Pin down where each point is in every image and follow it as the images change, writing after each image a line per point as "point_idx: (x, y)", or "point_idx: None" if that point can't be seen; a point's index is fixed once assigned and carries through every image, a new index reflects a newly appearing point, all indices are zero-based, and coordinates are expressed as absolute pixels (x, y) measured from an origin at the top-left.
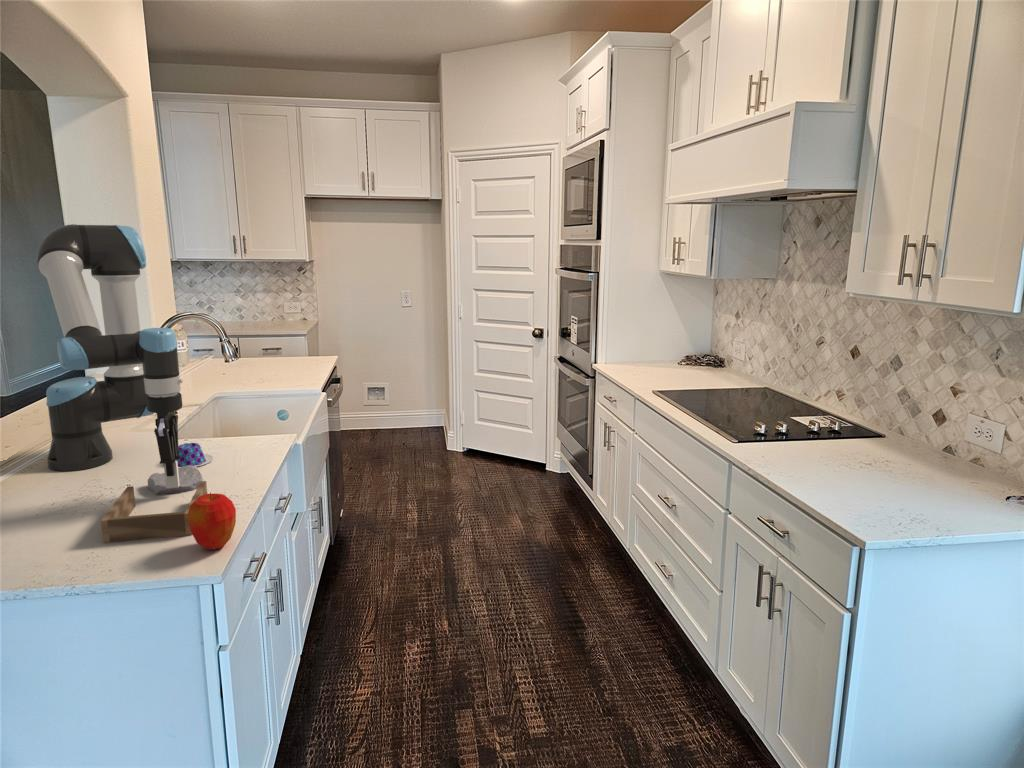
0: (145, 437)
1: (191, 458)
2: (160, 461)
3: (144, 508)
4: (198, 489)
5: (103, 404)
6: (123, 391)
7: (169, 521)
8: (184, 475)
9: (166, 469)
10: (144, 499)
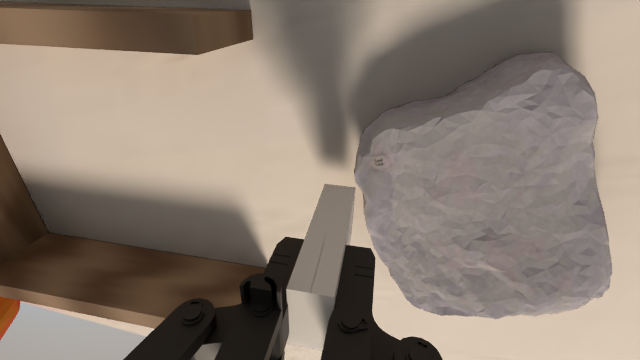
0: None
1: None
2: (257, 290)
3: (222, 86)
4: (155, 320)
5: None
6: None
7: None
8: (455, 259)
9: (266, 270)
10: (335, 64)
